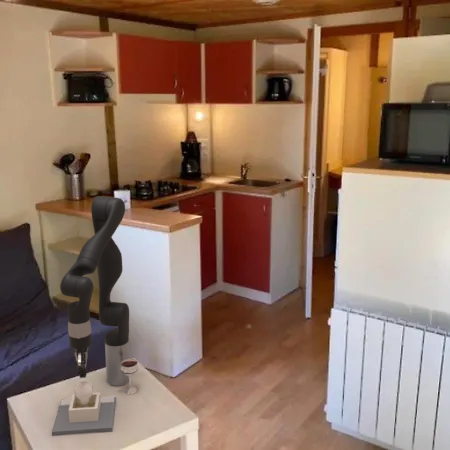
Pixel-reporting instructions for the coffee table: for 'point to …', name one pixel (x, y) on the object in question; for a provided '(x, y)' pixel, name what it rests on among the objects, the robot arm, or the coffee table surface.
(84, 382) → the lightbulb
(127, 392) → the wineglass
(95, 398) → the socket board
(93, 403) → the socket plunger
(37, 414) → the coffee table surface
